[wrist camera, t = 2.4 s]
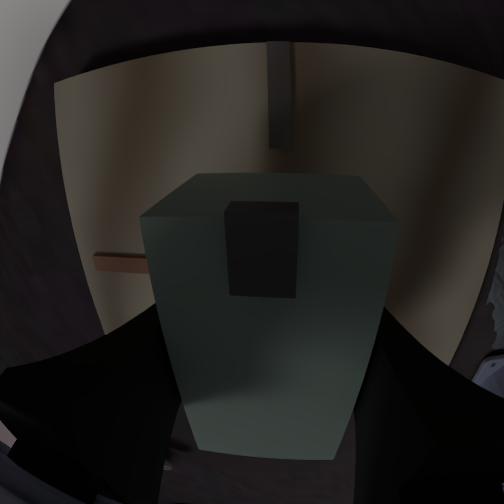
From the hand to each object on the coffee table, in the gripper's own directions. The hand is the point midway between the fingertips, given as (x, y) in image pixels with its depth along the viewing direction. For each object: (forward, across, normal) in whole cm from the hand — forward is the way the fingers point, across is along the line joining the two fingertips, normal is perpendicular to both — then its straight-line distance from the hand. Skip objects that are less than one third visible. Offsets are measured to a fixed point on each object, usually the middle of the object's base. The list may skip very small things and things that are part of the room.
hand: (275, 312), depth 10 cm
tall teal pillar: (+1, 0, 0) cm, 1 cm away
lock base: (+4, 0, 0) cm, 4 cm away
